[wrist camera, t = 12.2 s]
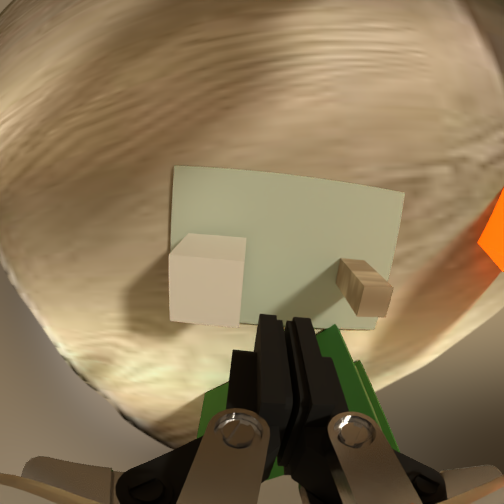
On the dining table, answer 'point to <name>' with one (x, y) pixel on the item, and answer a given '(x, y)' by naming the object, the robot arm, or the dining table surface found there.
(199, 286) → the beige foam cube
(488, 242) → the orange juice
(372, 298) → the post
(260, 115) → the dining table surface
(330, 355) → the hardback book
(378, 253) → the mat
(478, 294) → the dining table surface
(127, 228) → the dining table surface
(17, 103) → the dining table surface
